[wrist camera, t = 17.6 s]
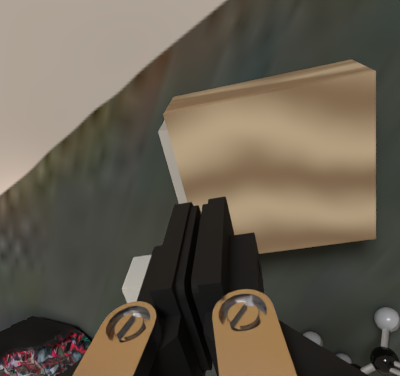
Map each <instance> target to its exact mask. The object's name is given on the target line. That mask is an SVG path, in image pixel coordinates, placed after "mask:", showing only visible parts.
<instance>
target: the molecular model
mask: <svg viewBox="0 0 400 376" xmlns="http://www.w3.org/2000/svg"><path fill="white" fill-rule="evenodd" d="M374 320H375V323H376V325H377V326H378V328H380V329H381V330H382V337H381V346H380V347H377V348H375V349H374V350H373V351H372V352H371V356H370V360H371V363H369V364H367V365H365V366H364V367H362V368H361V367H360V366H358V365H356V364H353V362H352V360H351V358H350V357H349V356H347V355H346V354H343V353H338V354H335V355H336V356H338V357H340V358H341V359H343V360H344V361H346V362H348V363H349V364H351V365H352V366H354V367H356V368H357V369H359V370H361V371H362V372H364V373H365V374H367V375H368V374H369V373H371V372H373V371H375V370H377V371H378V372H380V373H382V374H385V375H390V374H396V375H398V376H400V370H398V368H400V362H399V360H398V357H397V355H396V354H395V352H394V351H392V350H391V349H389V342H390V332H394V331H396V330H398V329H399V327H400V316H399V314H398V313H397V312H396V311H395V310H394V309H392V308H389V307H382V308H379V309H378V310H377V311H376V312H375V315H374ZM303 335H304V336H305V337H307V338H309V339H310V340H312V341H314V342H315V343H317V344H318V345H320V346H322V347H323V341H322V338H321V337H320V336H319V335H318V334H317V333H315V332H313V331H308V332H305V333H304V334H303Z"/></svg>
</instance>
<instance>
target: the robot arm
mask: <svg viewBox="0 0 400 376" xmlns="http://www.w3.org/2000/svg"><path fill="white" fill-rule="evenodd" d="M212 361H213V364H214V367H215V370H216V374H217V376H368V375H367V374H365V373H364V372H362V371H361V370H359V369H357V368H356V367H354V366H352V365H351V364H349V363H348V362H346V361H344V360H343V359H341V358H340V357H338V356H336V355H335V354H333V353H331V352H330V351H328V350H327V349H325V348H323V347H322V346H320V345H318V344H317V343H315V342H314V341H312V340H310V339H309V338H307V337H305V336H304V335H302V334H301V333H299V332H297V331H296V330H294V329H292V328H291V327H289V326H288V325H286V324H284V323H283V322H281V321H279V320H278V318H277V315H276V312H275V309H274V306H273V304H272V302H271V300H270V299H269V298H268V297H267V296H266V295H265V294H264V288H263V278H262V271H261V264H260V258H259V252H258V247H257V242H256V237H255V233H254V232H253V233H246V234H239V235H234V230H233V226H232V221H231V217H230V213H229V208H228V204H227V200H226V197H218V198H212V199H208V204H203V205H202V212H201V211H200V208H199V206H198V205H196V206H193V203H192V202H188V203H181V204H175V205H174V208H173V211H172V215H171V218H170V221H169V225H168V228H167V232H166V235H165V239H164V242H163V245H161V246H156V247H154V249H153V252H152V255H151V258H150V261H149V264H148V267H147V271H146V274H145V277H144V280H143V283H142V286H141V289H140V292H139V295H138V298H137V301H136V302H130V303H127V304H124V305H122V306H120V307H118V308H117V309H115V310H114V311H113V312H111V313H110V314H109V315H108V316H107V318H106V319H105V320H104V322H103V323H102V325H101V326H100V328H99V330H98V332H97V333H96V335H95V337H94V339H93V340H92V342H91V344H90V346H89V347H88V349H87V351H86V353H85V354H84V356H83V358H81V359H80V360H79V361H77V362H76V363H74V364H73V365H72V366H70V367H69V368H68V369H66V370H65V371H64V372H62V373H61V374H60V375H58V376H205V372H206V370H211V369H212Z"/></svg>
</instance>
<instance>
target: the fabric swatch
mask: <svg viewBox="0 0 400 376" xmlns="http://www.w3.org/2000/svg"><path fill="white" fill-rule="evenodd" d="M72 332H75V334H71V333H72ZM90 344H91V342H90V340H89V339H88V338H87V337H86V336H85V335H84V334H83V333H81V332H80V331H79V330H77V329H76V328H75V327H74V326H71V325H67V324H63V323H58V322H54V321H50V320H46V319H42V318H38V317H33V316H32V317H30V318H27V320H23V321H21V322H18V323H16V324H14V325H12V326H11V327H10V328H8V329H5V330H3V331H1V332H0V374H1V376H58V375H60V374H61V373H62V372H64V371H65V370H66V369H68V368H69V367H70V366H72V365H73V364H74V363H76V362H77V361H79V360H80V359H81V358H83V356H84V354H85V353H86V351H87V349H88V347H89V346H90Z"/></svg>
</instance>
